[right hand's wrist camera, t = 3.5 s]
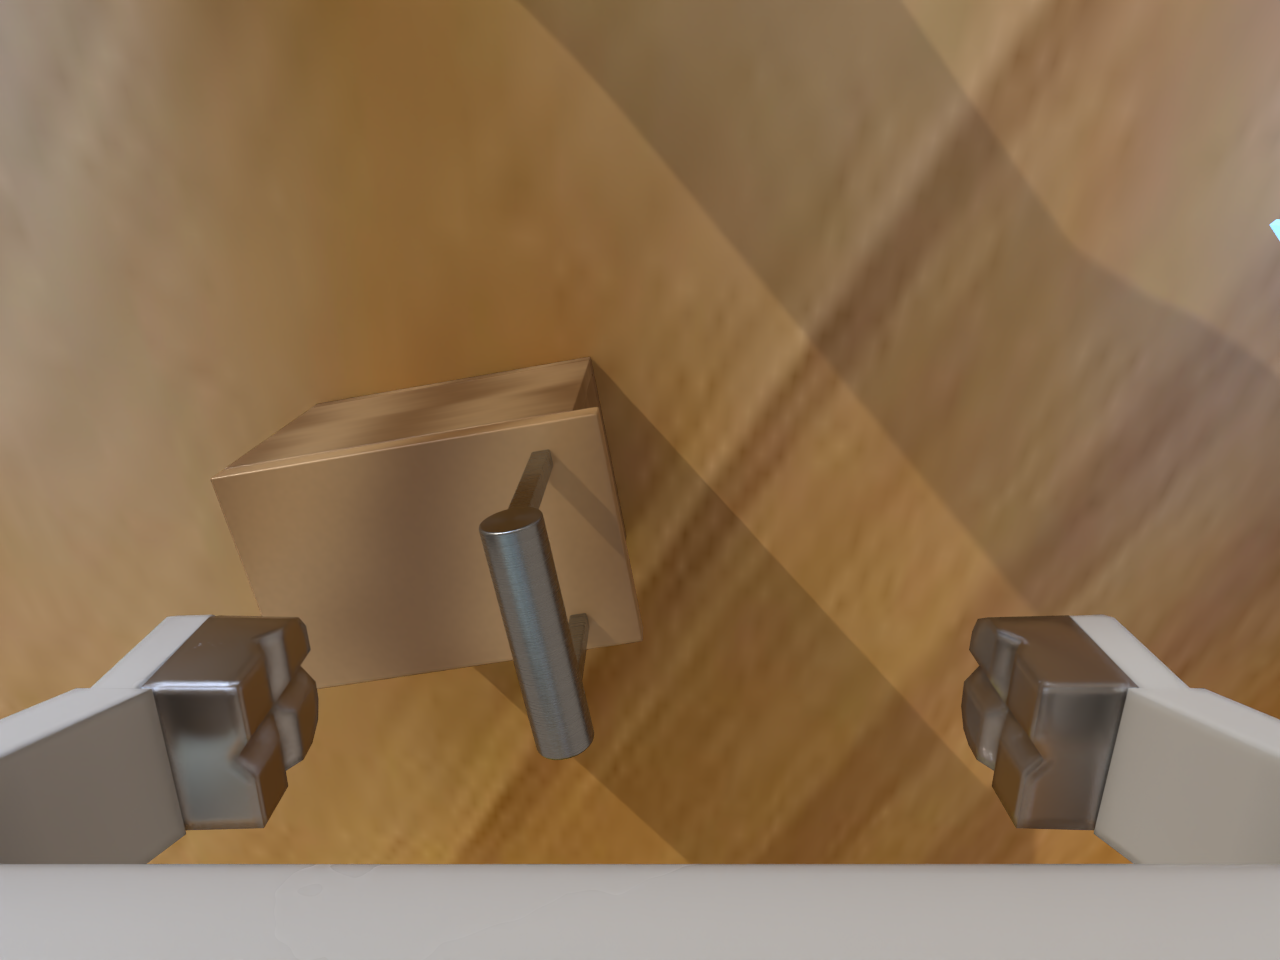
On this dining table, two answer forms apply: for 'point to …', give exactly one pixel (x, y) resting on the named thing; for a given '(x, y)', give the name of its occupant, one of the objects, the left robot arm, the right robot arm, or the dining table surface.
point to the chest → (434, 411)
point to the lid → (448, 558)
